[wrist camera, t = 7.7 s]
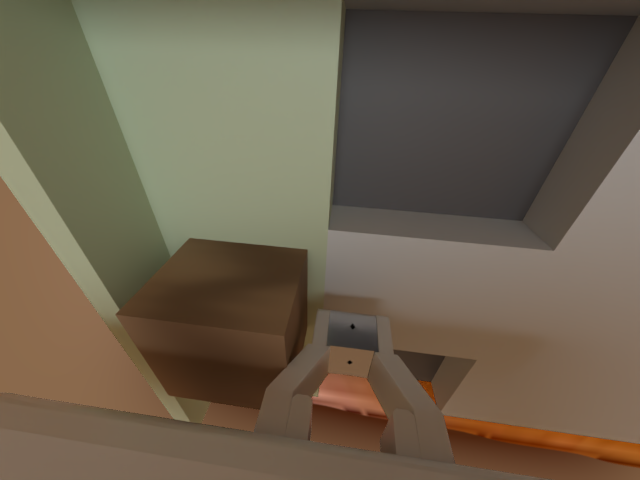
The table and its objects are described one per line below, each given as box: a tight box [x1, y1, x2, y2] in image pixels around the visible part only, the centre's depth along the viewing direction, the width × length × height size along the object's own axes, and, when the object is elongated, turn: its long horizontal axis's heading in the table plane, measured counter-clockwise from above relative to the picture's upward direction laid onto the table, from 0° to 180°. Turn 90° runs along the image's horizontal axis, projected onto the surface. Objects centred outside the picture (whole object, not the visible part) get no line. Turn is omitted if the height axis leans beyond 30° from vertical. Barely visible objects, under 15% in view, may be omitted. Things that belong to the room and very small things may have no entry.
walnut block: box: [115, 238, 308, 410], centre depth 10 cm, size 5×5×4 cm
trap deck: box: [0, 0, 640, 444], centre depth 11 cm, size 29×21×6 cm
